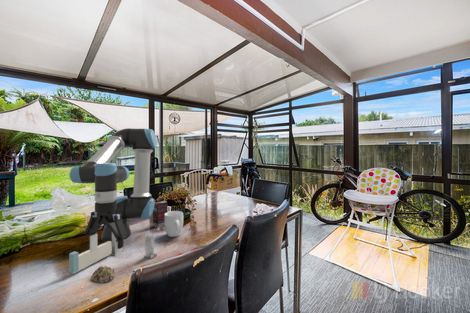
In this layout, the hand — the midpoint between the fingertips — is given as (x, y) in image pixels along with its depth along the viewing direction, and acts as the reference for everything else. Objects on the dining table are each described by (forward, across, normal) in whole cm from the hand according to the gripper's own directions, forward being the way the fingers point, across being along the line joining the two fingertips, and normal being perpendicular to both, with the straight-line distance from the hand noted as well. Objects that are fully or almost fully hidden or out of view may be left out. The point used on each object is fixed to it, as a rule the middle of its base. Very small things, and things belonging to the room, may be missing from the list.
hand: (105, 253), depth 84 cm
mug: (+9, +2, +44) cm, 45 cm away
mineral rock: (+10, 0, 0) cm, 10 cm away
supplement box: (+9, -17, +54) cm, 58 cm away
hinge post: (+9, -13, +16) cm, 22 cm away
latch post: (+9, +6, +18) cm, 21 cm away
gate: (+8, -13, +4) cm, 16 cm away
